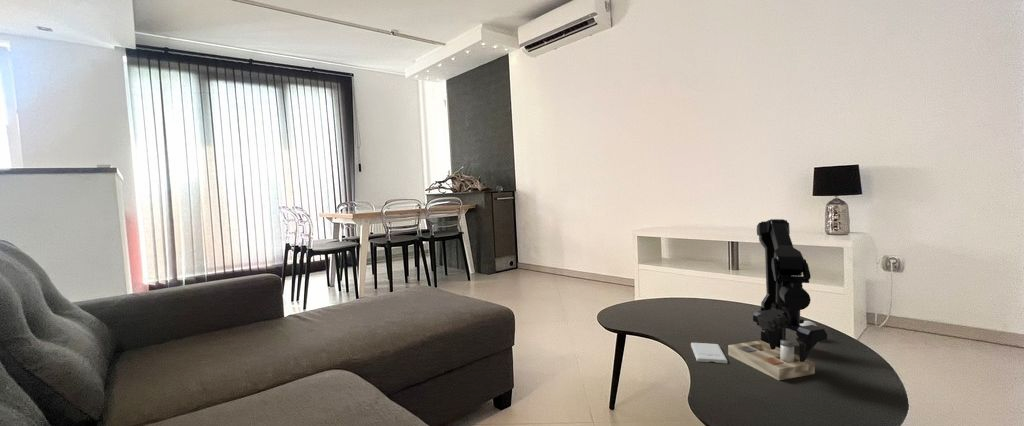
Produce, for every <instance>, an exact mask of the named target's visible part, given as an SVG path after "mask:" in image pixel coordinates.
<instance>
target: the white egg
mask: <svg viewBox="0 0 1024 426" xmlns="http://www.w3.org/2000/svg"><path fill="white" fill-rule="evenodd" d="M800 325H801V326H808V325H814V326H817V324H816V323H814V322H812V320H811V321H810V320H804V323H802V324H800ZM817 327H818V326H817Z"/></svg>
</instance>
